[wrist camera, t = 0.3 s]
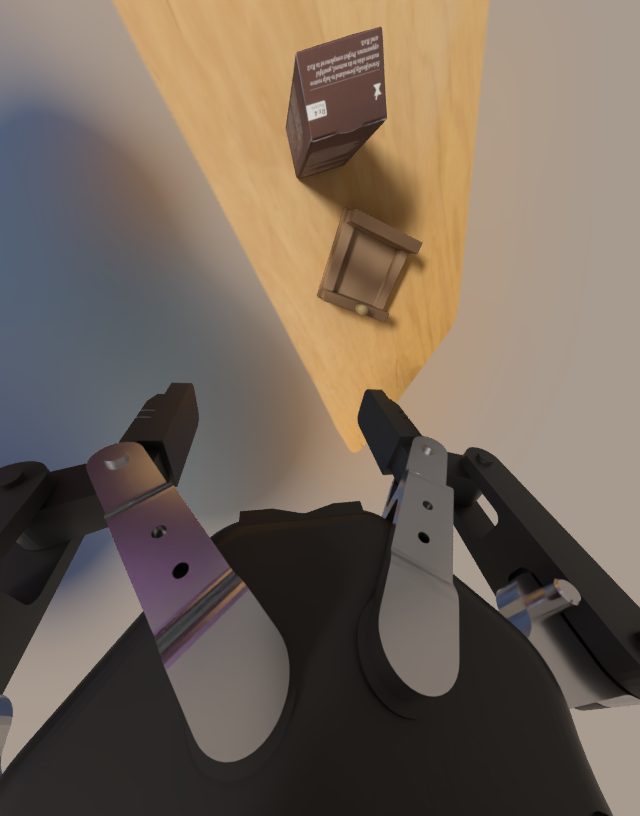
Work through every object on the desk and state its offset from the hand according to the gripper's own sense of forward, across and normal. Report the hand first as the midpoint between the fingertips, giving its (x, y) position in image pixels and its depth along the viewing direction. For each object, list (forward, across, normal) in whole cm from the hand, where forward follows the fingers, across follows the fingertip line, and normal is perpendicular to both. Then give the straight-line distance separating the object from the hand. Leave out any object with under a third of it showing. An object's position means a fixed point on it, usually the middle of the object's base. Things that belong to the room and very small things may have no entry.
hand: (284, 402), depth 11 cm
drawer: (+28, -12, -4) cm, 30 cm away
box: (+28, -4, -15) cm, 32 cm away
